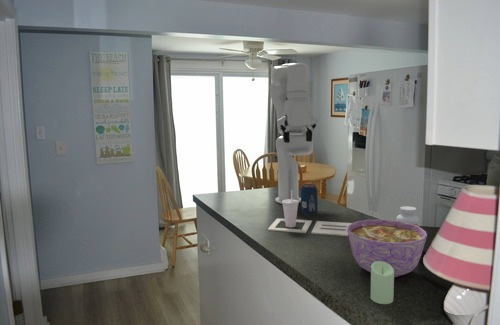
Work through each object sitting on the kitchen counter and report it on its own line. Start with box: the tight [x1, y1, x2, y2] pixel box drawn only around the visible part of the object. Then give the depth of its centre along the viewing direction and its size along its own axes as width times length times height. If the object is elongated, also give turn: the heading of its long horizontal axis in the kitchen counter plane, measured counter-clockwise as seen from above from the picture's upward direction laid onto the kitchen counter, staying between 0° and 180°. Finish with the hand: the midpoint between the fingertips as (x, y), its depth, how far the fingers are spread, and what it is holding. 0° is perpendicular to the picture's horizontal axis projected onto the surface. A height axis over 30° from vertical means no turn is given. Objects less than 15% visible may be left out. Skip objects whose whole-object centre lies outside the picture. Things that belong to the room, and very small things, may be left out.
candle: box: [370, 261, 395, 305], centre depth 89 cm, size 5×5×8 cm
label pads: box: [267, 218, 353, 237], centre depth 144 cm, size 14×30×1 cm, turn 72°
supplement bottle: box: [395, 205, 420, 227], centre depth 120 cm, size 7×7×13 cm
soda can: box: [300, 183, 319, 216], centre depth 162 cm, size 7×7×12 cm
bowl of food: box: [347, 219, 428, 279], centre depth 103 cm, size 20×20×12 cm
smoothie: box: [282, 190, 299, 228], centre depth 145 cm, size 6×6×14 cm
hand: (297, 141), depth 148 cm, fingers open, 9 cm apart
